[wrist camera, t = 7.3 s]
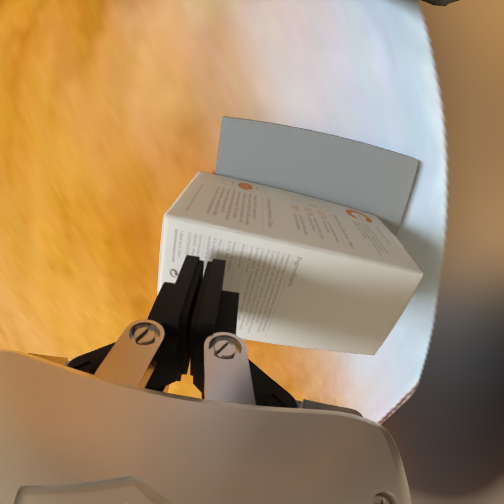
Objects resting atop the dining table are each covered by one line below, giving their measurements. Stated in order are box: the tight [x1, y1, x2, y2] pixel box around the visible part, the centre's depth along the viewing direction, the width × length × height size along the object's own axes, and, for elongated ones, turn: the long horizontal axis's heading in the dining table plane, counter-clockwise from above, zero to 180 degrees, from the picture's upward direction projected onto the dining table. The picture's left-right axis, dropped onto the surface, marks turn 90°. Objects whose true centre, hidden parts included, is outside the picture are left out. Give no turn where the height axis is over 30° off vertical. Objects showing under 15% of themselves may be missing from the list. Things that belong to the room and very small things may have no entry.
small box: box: [158, 171, 424, 355], centre depth 17 cm, size 8×6×13 cm
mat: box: [215, 117, 419, 236], centre depth 21 cm, size 15×14×1 cm
